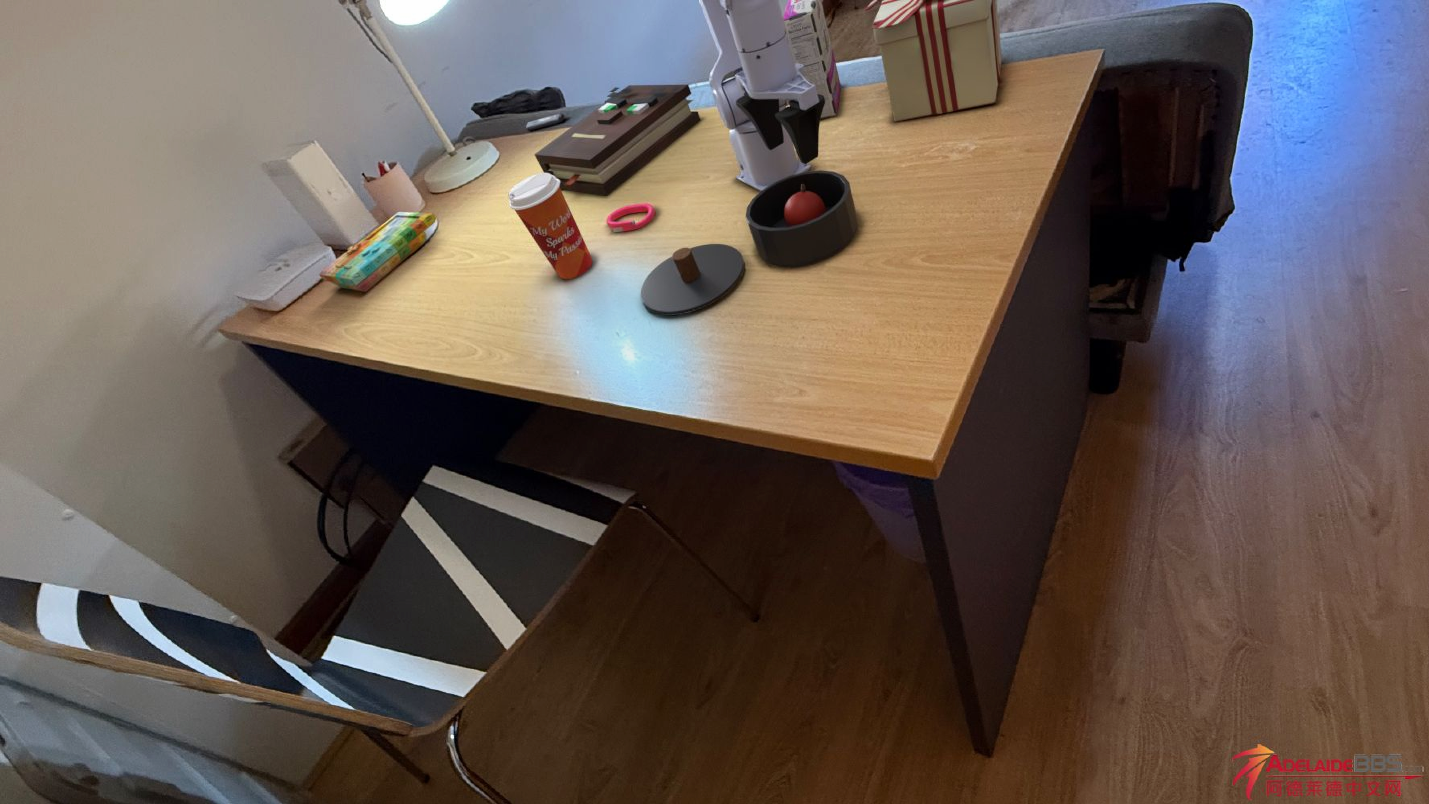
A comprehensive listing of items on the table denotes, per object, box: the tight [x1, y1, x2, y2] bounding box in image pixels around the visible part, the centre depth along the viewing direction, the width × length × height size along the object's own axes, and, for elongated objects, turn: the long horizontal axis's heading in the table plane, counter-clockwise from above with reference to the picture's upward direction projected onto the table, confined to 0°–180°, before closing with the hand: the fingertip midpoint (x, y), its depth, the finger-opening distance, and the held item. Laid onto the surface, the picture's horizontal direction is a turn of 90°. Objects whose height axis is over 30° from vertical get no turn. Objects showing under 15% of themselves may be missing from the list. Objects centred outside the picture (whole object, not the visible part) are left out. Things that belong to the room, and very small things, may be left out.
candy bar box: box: [782, 0, 842, 120], centre depth 114 cm, size 11×5×16 cm, turn 168°
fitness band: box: [605, 202, 656, 233], centre depth 112 cm, size 8×6×2 cm
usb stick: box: [525, 112, 566, 132], centre depth 160 cm, size 10×3×2 cm, turn 76°
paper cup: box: [507, 172, 593, 280], centre depth 103 cm, size 8×8×14 cm
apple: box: [784, 184, 825, 227], centre depth 91 cm, size 5×5×6 cm
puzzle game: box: [318, 211, 437, 293], centre depth 133 cm, size 12×5×20 cm
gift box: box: [862, 0, 1003, 123], centre depth 102 cm, size 17×18×17 cm
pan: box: [745, 169, 859, 269], centre depth 91 cm, size 13×13×6 cm
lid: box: [640, 243, 745, 316], centre depth 92 cm, size 14×14×5 cm
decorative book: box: [533, 84, 702, 197], centre depth 130 cm, size 19×8×30 cm
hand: (792, 152), depth 88 cm, fingers open, 7 cm apart
